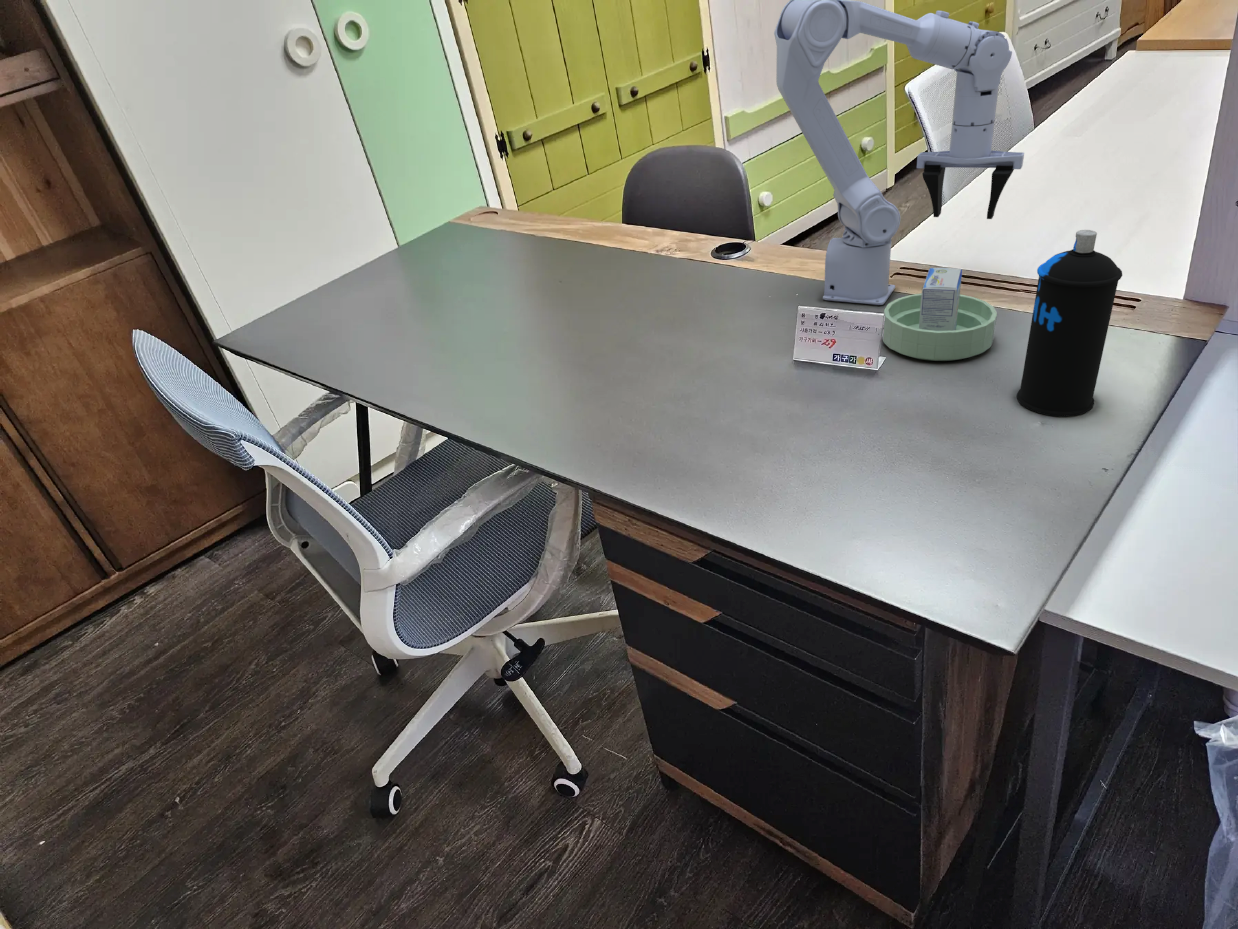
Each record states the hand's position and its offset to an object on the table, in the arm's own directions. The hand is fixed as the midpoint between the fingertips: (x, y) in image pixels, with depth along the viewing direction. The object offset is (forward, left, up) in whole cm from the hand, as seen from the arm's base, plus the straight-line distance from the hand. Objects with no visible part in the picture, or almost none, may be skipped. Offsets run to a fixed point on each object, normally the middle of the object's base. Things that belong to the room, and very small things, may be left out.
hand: (963, 216), depth 129 cm
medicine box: (+2, -24, -10) cm, 26 cm away
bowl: (+2, -24, -10) cm, 26 cm away
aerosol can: (+18, -37, -11) cm, 43 cm away
